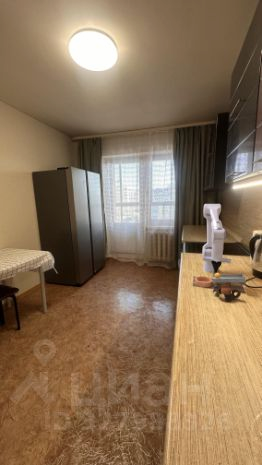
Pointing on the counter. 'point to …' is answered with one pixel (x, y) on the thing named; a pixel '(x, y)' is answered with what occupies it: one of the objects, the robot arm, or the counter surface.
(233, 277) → the lever
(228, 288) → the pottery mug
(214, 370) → the counter surface
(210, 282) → the orange bowl
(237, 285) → the base
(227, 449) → the counter surface
